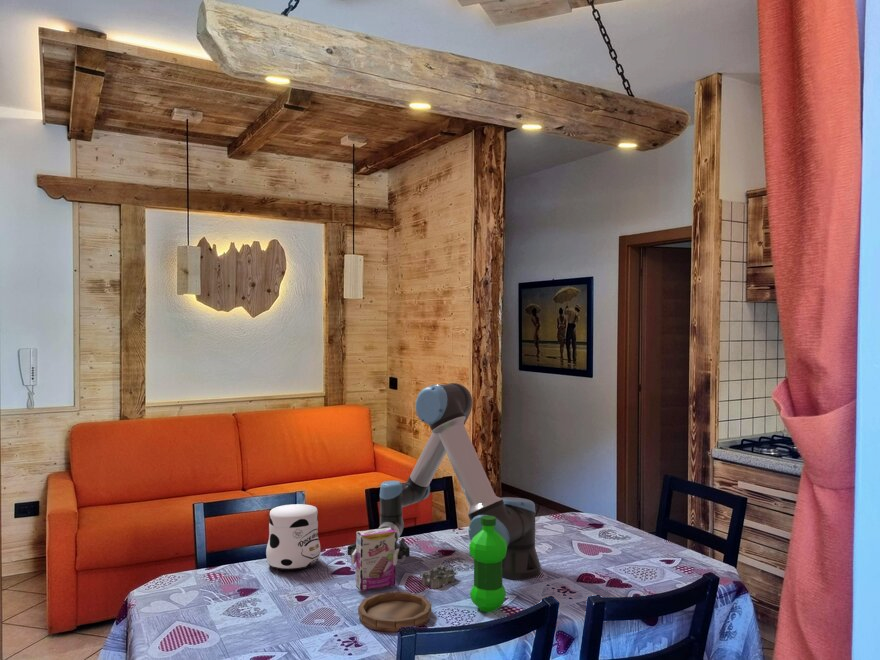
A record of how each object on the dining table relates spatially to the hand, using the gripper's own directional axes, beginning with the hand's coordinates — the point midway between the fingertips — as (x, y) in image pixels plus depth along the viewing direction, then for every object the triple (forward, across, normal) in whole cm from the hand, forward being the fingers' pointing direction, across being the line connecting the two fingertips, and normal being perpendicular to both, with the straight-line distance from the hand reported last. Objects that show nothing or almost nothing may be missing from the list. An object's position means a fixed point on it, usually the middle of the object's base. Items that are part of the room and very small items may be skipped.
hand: (373, 560), depth 194 cm
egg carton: (-12, -18, -11) cm, 24 cm away
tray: (+14, -8, -10) cm, 19 cm away
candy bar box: (-4, 0, -9) cm, 10 cm away
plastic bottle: (+6, -33, -10) cm, 35 cm away
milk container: (-21, +31, -10) cm, 39 cm away
